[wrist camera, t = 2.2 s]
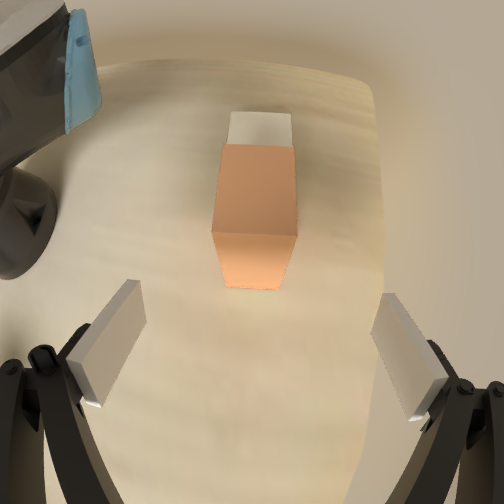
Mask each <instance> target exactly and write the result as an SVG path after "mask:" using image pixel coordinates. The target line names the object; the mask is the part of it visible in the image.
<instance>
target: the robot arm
mask: <svg viewBox="0 0 504 504" xmlns="http://www.w3.org/2000/svg"><path fill="white" fill-rule="evenodd" d="M101 104H102V95H101V89H100V84H99V80H98V75H97V70H96V65H95V60H94V55H93V49H92V44H91V39H90V33H89V27H88V22H87V17H86V12H85V10H84V9H79V10H76V9H74V10H72V11H71V13H68V11H67V8H66V6H65V3H64V0H0V278H1V279H4V280H10V279H14V278H17V277H19V276H21V275H22V274H24V273H25V272H26V271H27V270H28V269H29V268H30V267H31V266H32V265H33V264H34V263H35V262H36V261H37V259H38V258H39V257H40V255H41V254H42V252H43V250H44V248H45V247H46V245H47V243H48V241H49V238H50V236H51V233H52V230H53V227H54V224H55V219H56V210H57V206H56V198H55V195H54V193H53V191H52V190H51V189H50V187H49V186H48V185H47V184H46V183H45V182H44V181H43V180H42V179H41V178H39V177H37V176H35V175H33V174H30V173H28V172H26V171H24V170H22V169H19V168H17V167H15V166H16V165H17V164H19V163H20V162H22V161H23V160H24V159H26V158H27V157H29V156H30V155H32V154H33V153H35V152H36V151H38V150H39V149H41V148H42V147H44V146H45V145H47V144H49V143H50V142H52V141H53V140H55V139H57V138H58V137H60V136H62V135H63V134H65V135H68V134H69V133H70V132H71V130H72V129H74V128H76V127H77V126H79V125H81V124H82V123H84V122H86V121H87V120H89V119H91V118H92V117H94V116H95V115H96V114H97V112H98V111H99V109H100V107H101ZM145 324H146V316H145V310H144V304H143V298H142V292H141V285H140V281H139V280H128V279H127V281H126V282H125V283H124V284H123V285H122V287H121V288H120V289H119V290H118V291H117V293H116V294H115V295H114V296H113V298H112V299H111V300H110V301H109V303H108V304H107V305H106V306H105V308H104V309H103V310H102V311H101V313H100V314H99V315H98V316H97V318H96V319H95V320H94V322H93V323H92V324H88V323H85V324H84V325H82V326H81V327H79V328H78V329H77V330H76V332H75V333H74V334H73V337H71V338H70V339H69V340H68V342H67V343H66V344H65V346H64V347H63V348H62V350H61V351H60V352H59V353H58V355H56V352H55V350H54V348H53V347H52V346H50V345H46V344H45V345H39V346H37V347H35V348H33V349H32V350H31V351H30V353H29V354H28V360H29V362H30V364H31V366H32V368H24V366H23V365H22V363H21V361H20V360H18V359H10V360H8V361H6V362H4V363H3V364H2V366H1V368H0V504H46V494H45V481H44V430H45V434H46V438H47V442H48V446H49V450H50V454H51V458H52V461H53V464H54V468H55V471H56V474H57V477H58V480H59V483H60V486H61V489H62V492H63V494H64V497H65V499H66V502H67V504H124V502H123V501H122V499H121V497H120V495H119V493H118V491H117V489H116V487H115V485H114V483H113V481H112V479H111V477H110V475H109V473H108V471H107V469H106V467H105V465H104V462H103V460H102V458H101V456H100V453H99V451H98V448H97V446H96V444H95V441H94V439H93V436H92V433H91V431H90V428H89V425H88V423H87V420H86V417H85V414H84V411H83V408H82V405H81V403H80V402H79V401H80V400H81V398H82V396H83V397H84V399H85V400H86V402H87V404H90V405H93V406H97V407H100V408H102V406H103V404H104V402H105V400H106V398H107V396H108V394H109V392H110V390H111V388H112V386H113V384H114V382H115V380H116V378H117V376H118V374H119V372H120V370H121V368H122V367H123V365H124V363H125V361H126V359H127V357H128V355H129V353H130V351H131V350H132V348H133V346H134V344H135V342H136V340H137V339H138V337H139V335H140V333H141V331H142V329H143V328H144V326H145ZM371 335H372V337H373V340H374V342H375V344H376V346H377V348H378V351H379V353H380V355H381V357H382V360H383V362H384V364H385V367H386V369H387V371H388V373H389V376H390V378H391V381H392V383H393V385H394V388H395V390H396V393H397V395H398V398H399V400H400V403H401V405H402V408H403V410H404V413H405V415H406V418H407V421H408V422H409V421H414V420H419V419H422V418H423V417H424V415H425V413H426V412H427V411H428V412H429V415H430V418H429V419H428V421H427V422H426V423H425V425H424V426H423V427H422V429H421V430H420V431H423V432H422V435H421V437H420V439H419V441H418V444H417V446H416V448H415V450H414V452H413V454H412V456H411V458H410V461H409V462H408V465H407V466H406V468H405V470H404V472H403V474H402V476H401V478H400V480H399V482H398V483H397V485H396V487H395V488H394V490H393V492H392V494H391V495H390V497H389V499H388V500H387V502H386V503H385V504H443V503H444V501H445V499H446V496H447V494H448V491H449V488H450V486H451V484H452V481H453V478H454V475H455V473H456V469H457V467H458V464H459V461H460V468H459V477H458V486H457V494H456V500H455V504H504V384H503V383H501V382H498V381H493V382H491V383H490V384H489V386H488V387H487V389H476V388H475V387H474V385H473V384H472V383H471V382H470V381H468V380H466V379H462V378H461V379H459V377H458V376H457V374H456V372H455V371H454V369H453V367H452V366H451V365H450V363H449V361H448V360H447V358H446V356H445V355H444V354H443V352H442V351H441V349H440V347H439V346H438V345H437V344H436V343H435V342H433V341H432V340H426V339H425V337H424V336H423V334H422V333H421V331H420V330H419V328H418V327H417V325H416V324H415V322H414V321H413V319H412V318H411V316H410V315H409V313H408V312H407V310H406V309H405V308H404V306H403V305H402V303H401V302H400V300H399V299H398V298H397V296H396V295H395V293H383V294H382V298H381V301H380V305H379V308H378V311H377V315H376V318H375V321H374V325H373V328H372V331H371ZM423 429H424V430H423Z"/></svg>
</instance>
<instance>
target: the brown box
mask: <svg viewBox="0 0 504 504" xmlns="http://www.w3.org/2000/svg"><path fill="white" fill-rule="evenodd" d="M212 236H213V239H214V243H215V247H216V250H217V254H218V258H219V261H220V265H221V268H222V272H223V275H224V279H225V282H226V286H227V287H237V288H257V289H279V287H280V284H281V281H282V279H283V276H284V273H285V270H286V267H287V264H288V262H289V259H290V256H291V253H292V250H293V247H294V244H295V241H296V238H297V204H296V175H295V153H294V147H285V146H269V145H246V144H223V150H222V157H221V164H220V171H219V178H218V185H217V193H216V200H215V208H214V216H213V224H212Z"/></svg>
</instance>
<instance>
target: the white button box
mask: <svg viewBox="0 0 504 504" xmlns="http://www.w3.org/2000/svg"><path fill="white" fill-rule="evenodd" d="M226 144H246V145H269V146H285V147H293V142H292V128H291V114H286V113H270V112H246V111H231V118H230V124H229V131H228V136H227V143H226Z"/></svg>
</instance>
